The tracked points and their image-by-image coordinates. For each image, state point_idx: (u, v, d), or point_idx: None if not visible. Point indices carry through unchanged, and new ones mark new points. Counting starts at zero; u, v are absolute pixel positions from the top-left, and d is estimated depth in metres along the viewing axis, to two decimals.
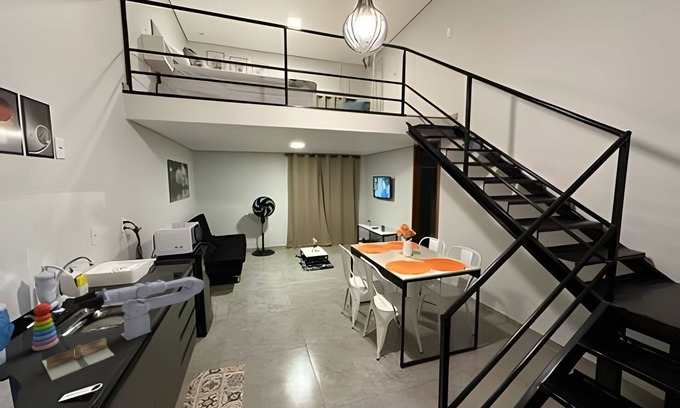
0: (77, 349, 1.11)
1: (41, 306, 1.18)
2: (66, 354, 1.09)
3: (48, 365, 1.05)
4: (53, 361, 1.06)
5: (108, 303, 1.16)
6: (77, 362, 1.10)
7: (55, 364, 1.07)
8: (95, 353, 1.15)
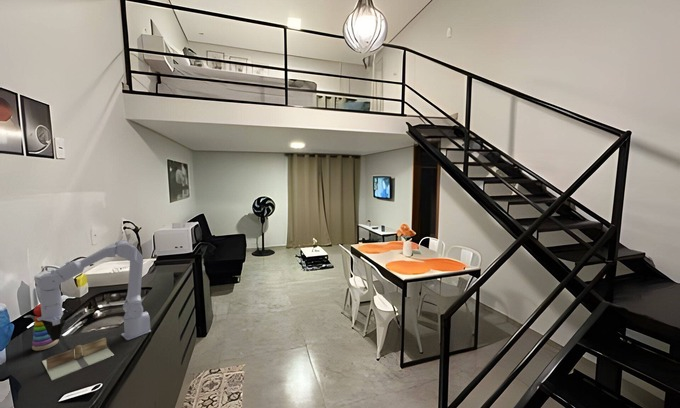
0: (77, 349, 1.11)
1: None
2: (66, 354, 1.09)
3: (48, 365, 1.05)
4: (53, 361, 1.06)
5: (58, 321, 1.07)
6: (77, 362, 1.10)
7: (55, 364, 1.07)
8: (95, 353, 1.15)
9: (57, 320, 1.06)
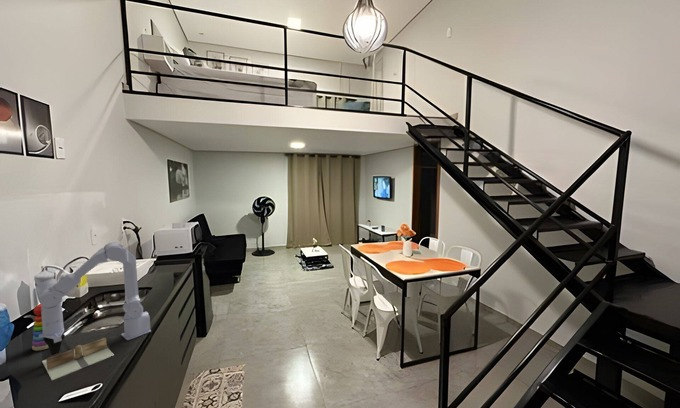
0: (77, 349, 1.11)
1: (41, 306, 1.18)
2: (66, 354, 1.09)
3: (48, 365, 1.05)
4: (53, 361, 1.06)
5: (59, 338, 1.07)
6: (77, 362, 1.10)
7: (55, 364, 1.07)
8: (95, 353, 1.15)
9: (58, 337, 1.07)
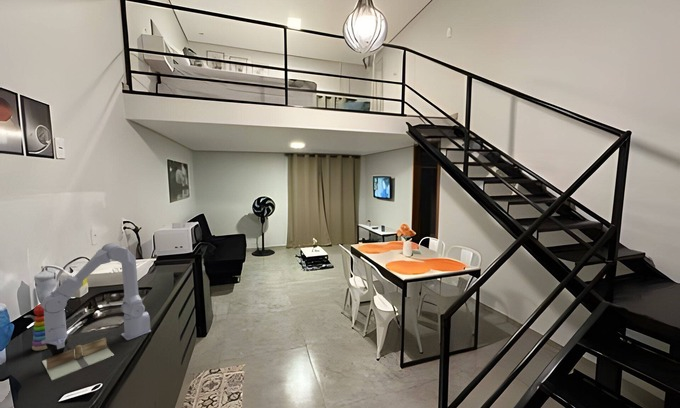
0: (77, 349, 1.11)
1: None
2: (66, 354, 1.09)
3: (48, 365, 1.05)
4: (53, 361, 1.06)
5: (62, 344, 1.04)
6: (77, 362, 1.10)
7: (55, 364, 1.07)
8: (95, 353, 1.15)
9: (61, 343, 1.04)
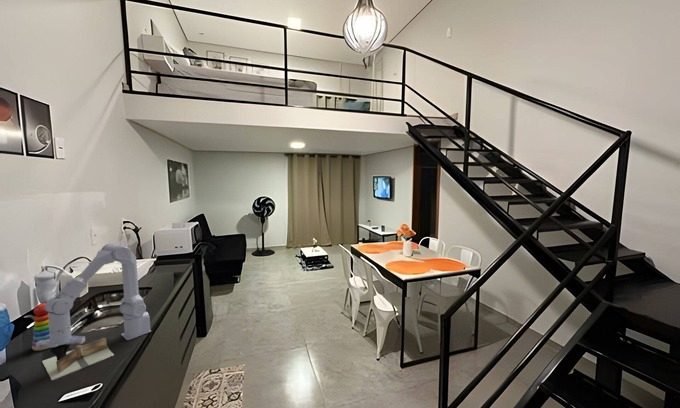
0: (77, 349, 1.11)
1: (41, 306, 1.18)
2: (72, 354, 1.09)
3: (61, 367, 1.04)
4: (64, 363, 1.05)
5: (84, 338, 1.08)
6: (77, 362, 1.10)
7: (65, 365, 1.06)
8: (95, 353, 1.15)
9: (83, 338, 1.08)
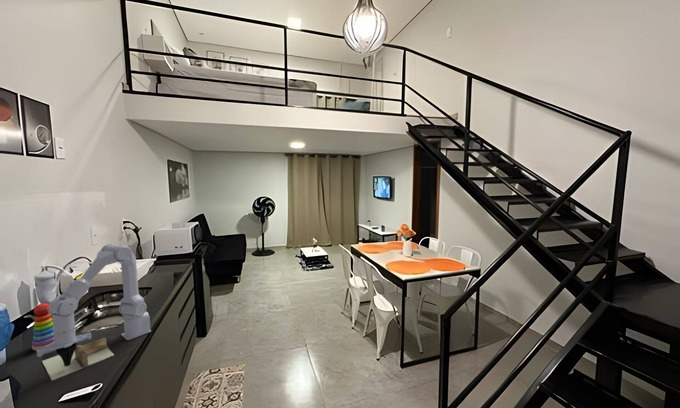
0: (77, 349, 1.11)
1: (41, 306, 1.18)
2: None
3: (87, 360, 1.08)
4: None
5: None
6: (77, 362, 1.10)
7: None
8: (95, 353, 1.15)
9: None
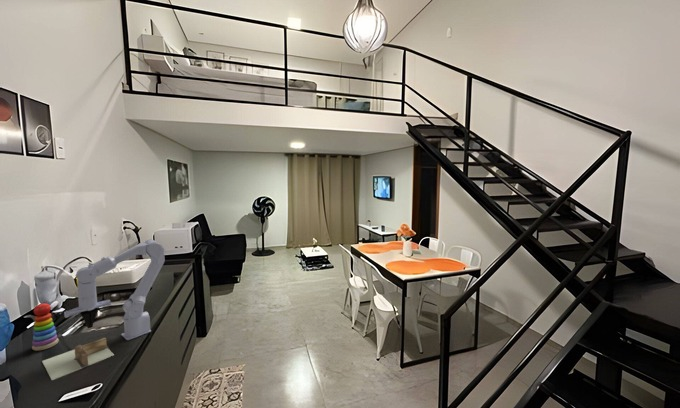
0: (77, 349, 1.11)
1: (41, 306, 1.18)
2: None
3: (87, 360, 1.08)
4: None
5: None
6: (77, 362, 1.10)
7: None
8: (95, 353, 1.15)
9: None
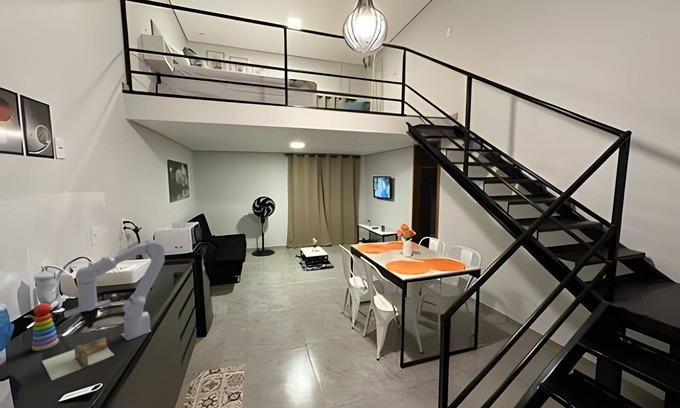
0: (77, 349, 1.11)
1: (41, 306, 1.18)
2: None
3: (87, 360, 1.08)
4: None
5: None
6: (77, 362, 1.10)
7: None
8: (95, 353, 1.15)
9: None
